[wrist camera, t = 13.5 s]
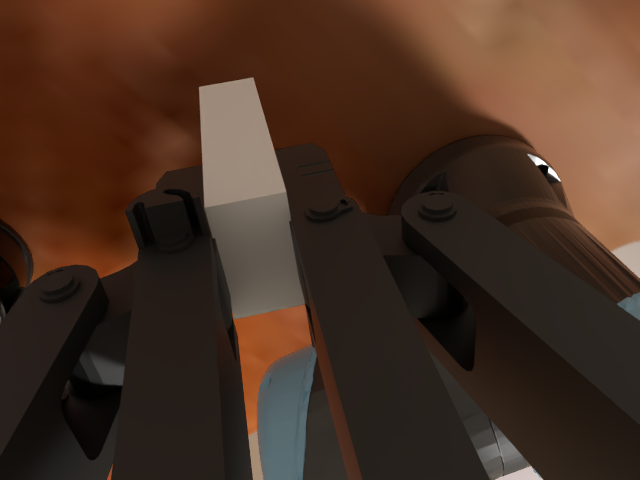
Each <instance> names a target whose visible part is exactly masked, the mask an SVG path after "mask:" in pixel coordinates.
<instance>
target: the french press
mask: <svg viewBox="0 0 640 480" xmlns="http://www.w3.org/2000/svg"><path fill="white" fill-rule="evenodd" d="M0 259H1V260H2V261H3V262H4V263H5V264H6V265H7V266H8V268H9V269H10V270H11V272H12V273H13V279H12V280H11V282H10V283H9V285H8V286H6V287H5V288H4V289H3V290H1V291H0V323H1V322H2V321H3V319H4V318H5V316H6V315H7V314H8V312H9V311H10V309H11V308H12V307H13V305H14V304H15V303H16V301H17V300H18V298H19V297H20V296H21V294H22V293H23V291H24V290H25V289H26V288H27V287H28V286H29V284H30V281H31V278H32V275H33V266H34V264H33V259H32V254H31V252H30V250H29V248H28V246H27V244H26V243H25V241H24V240H23V239H22V237H21V236H20V235H19V234H18V233H17V232H16V231H15V230H14V229H13V228H11V227H10V226H9V225H7V224H6V223H4V222H3V221H1V220H0Z"/></svg>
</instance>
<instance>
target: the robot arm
mask: <svg viewBox="0 0 640 480" xmlns="http://www.w3.org/2000/svg"><path fill="white" fill-rule="evenodd" d="M199 98H200V120H201V142H202V164H203V165H200V166H194V167H189V168H184V169H178V170H173V171H168V172H166V173H165V174H164V175H163V176H162V178H161V179H160V180H159V181H158V182H157V184H156V189H154V190H150V191H148V192H146V193H144V194H142V195H140V196H138V197H137V198H136V199H134V200H133V201H132V202H131V203H130V204H129V205H128V207H127V209H126V211H125V212H126V215H127V218H128V221H129V223H130V226H131V229H132V232H133V234H134V237H135V240H136V242H137V245H138V248H139V253H138V261H136V262H135V263H133V264H132V265H130V266H129V267H126V268H124V269H122V270H120V271H118V272H116V273H113V274H111V275H108V276H106V277H103V278H101V279H100V278H99V276H98V274H97V272H96V270H95V269H93V268H91V267H89V266H84V265H71V266H66V267H60V268H57V269H55V270H51V271H49V272H47V273H45V274H44V275H42V276H41V277H39V278H38V279H36V280H34V281H33V282H32V283H31V284H30V285H29V286H28V287H27V288H26V289H25V290H24V291H23V293H22V294H21V296H20V297H19V298H18V300H17V301H16V303H15V304H14V305H13V307H12V308H11V309H10V311H9V312H8V314H7V315H6V316H5V318H4V319H3V321H2V322H1V323H0V480H107V477H108V475H109V472H110V470H111V467H112V464H113V468H112V476H111V480H253V477H252V468H251V458H250V449H249V439H248V430H247V421H246V411H245V402H244V392H243V383H242V373H241V364H240V355H239V345H238V336H237V332H236V329H235V325H234V321H233V317H232V312H233V315H234V319H238V318H243V317H248V316H252V315H257V314H262V313H266V312H271V311H276V310H280V309H285V308H290V307H295V306H299V305H304V304H305V306H306V312H307V317H308V323H309V329H310V335H311V341H312V344H311V345H309V346H307V347H305V348H302V349H300V350H298V351H295V352H293V353H291V354H289V355H286V356H284V357H282V358H280V359H278V360H276V361H275V362H274V363H273V364H271V365H270V367H269V368H268V369H267V371H266V372H265V374H264V376H263V378H262V381H261V384H260V388H259V394H258V402H257V432H258V443H259V453H260V460H261V466H262V472H263V478H264V480H495V479H497V478H499V477H501V476H504V475H507V474H510V473H513V472H516V471H518V470H521V469H524V468H526V467H529V466H532V468H533V469H534V472H535V473H537V474H538V475H539V477H541V478H542V479H543V480H640V278H639V277H637V276H636V275H635V274H634V273H633V272H632V271H630V269H629V268H628V267H627V266H626V265H624V264H623V263H622V262H621V261H620V260H619V259H618V258H617V257H616V256H615V255H614V254H612V253H611V252H610V251H609V250H608V249H607V248H606V247H605V246H604V245H603V244H602V243H601V242H599V241H598V240H597V239H596V238H595V237H594V236H593V235H592V234H591V233H590V232H589V231H587V230H586V229H585V228H584V227H583V226H582V225H581V224H580V223H579V222H578V221H577V220H576V219H575V217H574V215H573V212H572V210H571V207H570V204H569V202H568V199H567V196H566V194H565V191H564V189H563V186H562V183H561V181H560V179H559V176H558V175H557V173H556V171H555V170H554V169H553V167H552V166H551V165H550V164H549V163H548V161H547V160H545V159H544V158H543V157H542V156H541V155H540V154H538V153H537V152H536V151H535V150H534V149H533V148H531V147H530V146H528V145H527V144H525V143H523V142H521V141H519V140H517V139H514V138H510V137H506V136H499V135H483V136H475V137H470V138H466V139H463V140H460V141H457V142H454V143H452V144H450V145H447V146H445V147H444V148H442V149H440V150H438V151H437V152H435V153H433V154H432V155H430V156H429V157H428V158H426V159H425V160H424V161H423V162H421V163H420V164H419V165H418V166H417V167H416V168H415V169H414V170H413V171H412V172H411V173H410V174H409V176H408V177H407V178H406V179H405V181H404V182H403V183H402V185H401V186H400V188H399V190H398V191H397V193H396V195H395V197H394V199H393V202H392V204H391V207H390V211H389V215H387V216H385V215H373V214H368V213H364V212H362V211H361V209H360V207H359V205H358V204H357V203H356V202H355V201H354V200H353V199H352V198H349V197H347V196H345V193H344V191H343V189H342V187H341V185H340V182H339V180H338V178H337V176H336V174H335V172H334V171H333V167H332V165H331V163H330V161H329V159H328V156H327V154H326V152H325V150H323V149H322V148H320V147H318V146H317V145H315V144H313V143H308V144H303V145H297V146H292V147H287V148H281V149H276V150H274V147H273V144H272V141H271V137H270V134H269V130H268V127H267V123H266V120H265V116H264V113H263V110H262V106H261V103H260V99H259V96H258V92H257V89H256V85H255V82H254V79H253V78H247V79H241V80H236V81H230V82H224V83H219V84H213V85H207V86H202V87H199Z"/></svg>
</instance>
